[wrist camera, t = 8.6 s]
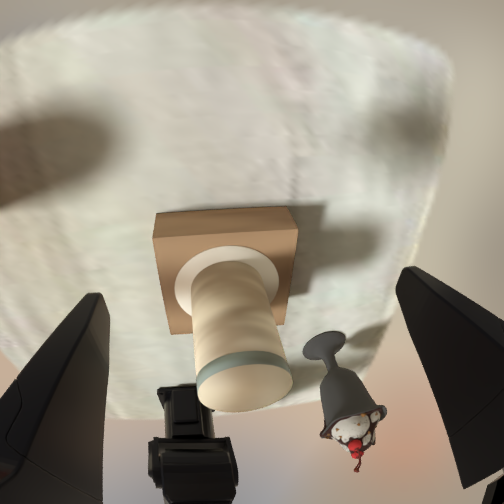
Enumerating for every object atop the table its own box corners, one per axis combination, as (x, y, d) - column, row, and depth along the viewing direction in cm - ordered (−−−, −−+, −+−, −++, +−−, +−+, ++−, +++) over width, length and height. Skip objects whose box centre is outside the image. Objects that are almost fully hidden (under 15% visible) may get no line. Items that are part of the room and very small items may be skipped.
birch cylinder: (265, 258, 21) (300, 359, 15) (260, 311, 24) (286, 405, 18) (187, 263, 20) (192, 371, 14) (193, 317, 23) (201, 415, 17)
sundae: (297, 331, 31) (344, 472, 19) (358, 321, 32) (416, 446, 20) (290, 367, 35) (326, 487, 23) (344, 357, 36) (388, 467, 24)
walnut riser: (275, 298, 28) (284, 325, 25) (171, 307, 26) (170, 335, 24) (286, 206, 22) (298, 229, 20) (156, 213, 21) (152, 239, 19)
